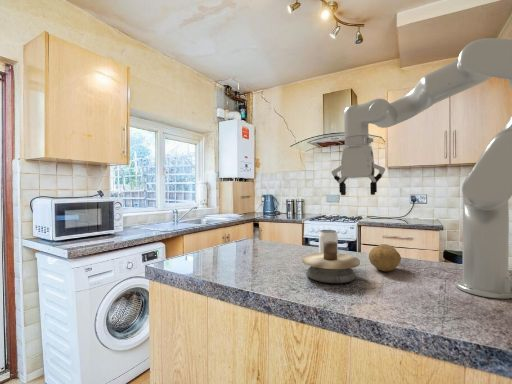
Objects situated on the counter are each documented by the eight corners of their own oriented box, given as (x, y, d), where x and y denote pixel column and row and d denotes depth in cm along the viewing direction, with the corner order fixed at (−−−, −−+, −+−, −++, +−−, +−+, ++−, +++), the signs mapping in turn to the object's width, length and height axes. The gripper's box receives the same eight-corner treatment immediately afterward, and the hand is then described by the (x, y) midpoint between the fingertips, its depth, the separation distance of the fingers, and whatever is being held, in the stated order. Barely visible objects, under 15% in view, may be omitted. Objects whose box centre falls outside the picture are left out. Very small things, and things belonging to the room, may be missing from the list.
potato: (365, 273, 92) (365, 248, 92) (371, 263, 104) (371, 241, 104) (399, 278, 87) (399, 252, 87) (401, 267, 99) (401, 244, 99)
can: (339, 266, 100) (339, 232, 100) (321, 266, 100) (320, 232, 100) (335, 261, 107) (334, 229, 107) (317, 261, 107) (317, 229, 107)
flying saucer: (310, 287, 81) (310, 267, 81) (302, 271, 96) (302, 255, 96) (364, 287, 81) (364, 267, 81) (347, 271, 96) (347, 255, 96)
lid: (365, 258, 91) (365, 240, 91) (351, 272, 77) (351, 250, 77) (313, 253, 100) (313, 236, 100) (293, 264, 86) (293, 244, 86)
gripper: (386, 141, 94) (388, 194, 94) (335, 147, 104) (336, 195, 104) (381, 138, 88) (383, 194, 88) (327, 145, 98) (328, 195, 98)
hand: (357, 194), depth 96 cm, fingers open, 9 cm apart
